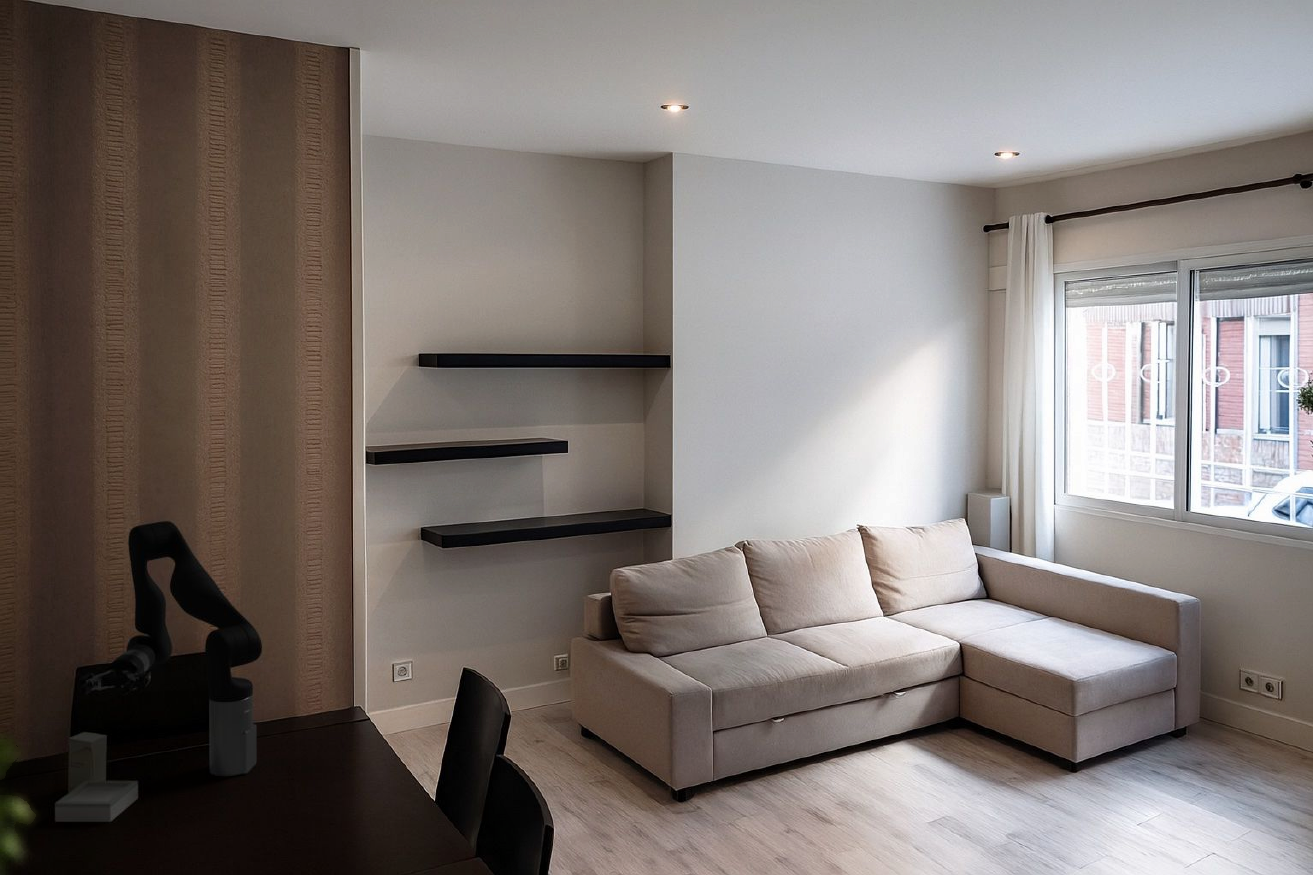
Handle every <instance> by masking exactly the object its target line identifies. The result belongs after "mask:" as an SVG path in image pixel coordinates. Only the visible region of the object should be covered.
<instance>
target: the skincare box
mask: <svg viewBox="0 0 1313 875" xmlns="http://www.w3.org/2000/svg"><path fill="white" fill-rule="evenodd" d="M107 738H108V737H107V734H101V733H96V732H88V731H82V732H79V733H78V734H75V735H73V736H71V737H69V738H68V768H67V769H68V773H67V774H68V775H67V777H68V782H67V786H68V787H67V792H68V793H70V792H71V791H72V790H74V789H75V788H76V787H78V786H79V785H80V784H82V783H83V782H84V781H107Z"/></svg>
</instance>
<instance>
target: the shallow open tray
mask: <svg viewBox="0 0 1313 875" xmlns="http://www.w3.org/2000/svg"><path fill="white" fill-rule="evenodd" d="M138 799H139V780H106V781H84V782H83V783H82V784H80V785H79V786H78V787H76V788H75V789H74V790H72V791H71V792H70V793H69V792H68V793H67V794H65V795H64V796H62V797H61V798H60V799H58V800H57V801H56V802H55V803H54V822H57V823H58V822H59V823H62V822H63V823H64V822H65V823H66V822H67V823H69V822H70V823H111V822H112V821H113V820H114V819H115V818H116V817H118V816H119V815H120V814H121V813H123V812H124V811H125V810H126V809H127V808H128V807H130V806H131V805H132V804H133V803H134V802H136V801H137V800H138Z"/></svg>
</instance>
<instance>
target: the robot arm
mask: <svg viewBox="0 0 1313 875" xmlns="http://www.w3.org/2000/svg"><path fill="white" fill-rule="evenodd" d="M127 539H128V556H129V562H130V571H131V576H132V583H133V588H134V589H133V590H134V601H135V602H134V606H135V608H134V627H135V630H136V632H139V633H141V634H139V635H134V636H132V637H131V638H130V639H129V641H128V643H127V646H126V650H125V652H123V653H122V654H120V655H118V657H117V658H115V659H114V660H113V661H112V662H110V664H108V666H107V667H106V670H105V671H104V672H102V673H99V674H96V675H94V672H92V671H90V672H87V673H86V674H85V675H83V676H82V677H81V678H79V679H78V682H77V684H78V686H77V688H78V691H79V692H80V694H81V696H83V697H85V696H86V697H87V696H88V695H89V694H90V693H91V692H92V691H95V690H97V691H101V690H102V691H103V690H104V689H108V688H109V689H112V688H113V689H116V690H122V692H123V695H128V694H129V693H131V692H132V691H135V690H137V688H140V689H141V690H142V689H146V687H147V686H148V685H149V684H150V682H151V681H152V680H151V678H152V677H151V673H152V672H151V670H150V668H151V667H152V666H153V665H154V664H155V665H162V664H164V663H166V662H168V660H169V659H170V657H171V656H172V652H173V644H172V640H171V637H170V634H169V632H168V627H167V624H166V622H167V621H166V614H167V613H166V612H167V602H166V597H165V596H166V595H165V594H164V593H163V590H161V588H160V586H159V585H158V584H157V583H156V582H155V580H153V578H152V577H151V575H150V573H149V570H148V563H149V561H154V560H159V559H165V558H170V559H171V560H172V561H173V562H174V568H173V571H172V574H171V577H170V580H169V591H170V594H171V595H172V597H173V599H174V600H175V602H176V603H177V604H178V605H179V607H180V609H182V611H184V613H186V614H187V615H189V616H191V617H193V618H194V619H196V620H199V621H202V622H204V623H206V624H209V625H211V626H214V627H215V628H217V629H214V630H212V631H210V632H209V633H208V635H207V636H206V639H205V643H204V645H205V646H204V647H205V648H204V652H205V653H204V655H205V666H206V667H205V669H206V685H207V689H208V700H209V701H208V703H209V705H208V706H209V707H208V708H209V709H208V710H209V711H208V714H209V715H208V716H209V722H208V723H209V726H208V727H209V728H208V730H209V732H208V733H209V734H208V735H209V736H208V738H209V739H208V740H209V741H208V742H209V752H208V753H209V773H210V774H211V775H212V776H217V777H233V776H238V775H242V774H243V775H245V774H248V773H249V772H250V771H251V770H252V769H253V767H254V766H256V764H257V724H256V723H254V685H253V682H252V681H251V680H250V679H248V678H243V677H235V676H232V670H231V669H232V668H236V667H241V666H244V665H248V664H251V663H253V662H255V661H257V660H258V659H259V658H260V657H261V655H262V653H263V643H262V639H261V636H260V635H259V633H258V631H257V630H256V628H255V627H254V626H253V625H252V623H251V622H250V621H249V620H248V619H247V618H246V617H245V616H244V615H242V613H241V612H240V611H239V610H238V609H237V608H236V607H235V606H234V605H233V604H232V603H231V602H230V599H228V598H227V597H226V595H225V594H224V593H223V592H222V590H221V589H220V587H219V586H218V584H217V583H216V582H215V580H214V579H213V578H212V576H211V575H210V574H209V573H208V571H207V570H206V569H205V568H204V567H203V565H202V564H201V563H200V562H199V560H198V559H197V557H196V556H195V554H194V553H193V552H192V550H191V548H190V546H189V544H188V543H187V540H186V539H185V538H184V536H183V534H182V532H181V531H180V529H179V528H178V526H177V525H175V523H174V522H172V521H169V520H162V521H156V522H152V523H145V524H140V525H135V526H134V527H132V528H131V530H130V531H129V534H128V538H127Z"/></svg>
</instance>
